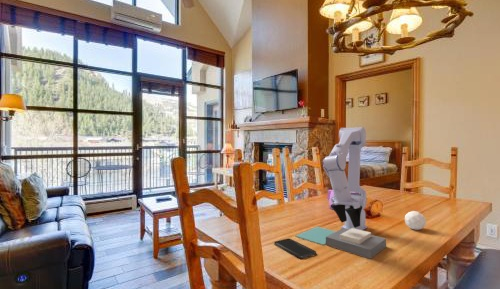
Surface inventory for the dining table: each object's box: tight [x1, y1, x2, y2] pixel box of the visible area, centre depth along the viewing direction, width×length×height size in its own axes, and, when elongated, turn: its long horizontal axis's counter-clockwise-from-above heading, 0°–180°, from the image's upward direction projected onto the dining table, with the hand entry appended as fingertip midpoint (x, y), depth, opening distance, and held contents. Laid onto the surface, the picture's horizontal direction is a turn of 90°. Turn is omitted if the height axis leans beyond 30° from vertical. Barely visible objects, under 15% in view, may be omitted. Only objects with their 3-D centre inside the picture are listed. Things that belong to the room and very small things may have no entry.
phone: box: [274, 237, 317, 260], centre depth 92 cm, size 8×1×15 cm
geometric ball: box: [404, 210, 427, 231], centre depth 112 cm, size 8×8×8 cm
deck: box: [325, 228, 387, 260], centre depth 94 cm, size 14×16×3 cm
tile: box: [340, 228, 372, 244], centre depth 94 cm, size 10×7×2 cm
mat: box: [295, 226, 337, 246], centre depth 105 cm, size 16×12×1 cm
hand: (350, 223), depth 94 cm, fingers open, 7 cm apart
